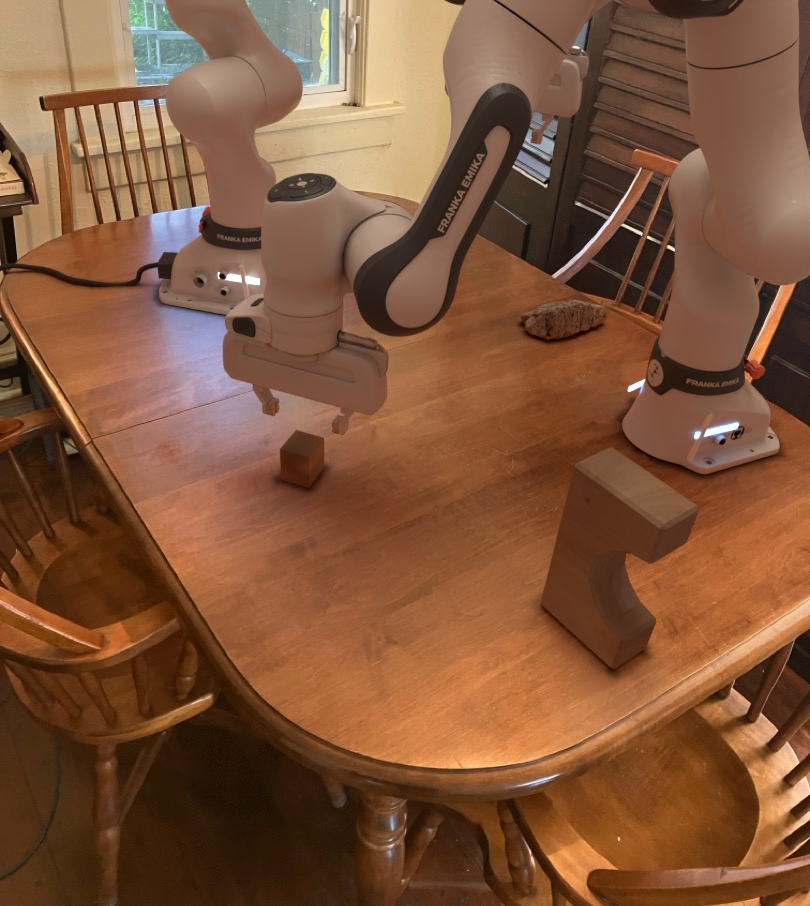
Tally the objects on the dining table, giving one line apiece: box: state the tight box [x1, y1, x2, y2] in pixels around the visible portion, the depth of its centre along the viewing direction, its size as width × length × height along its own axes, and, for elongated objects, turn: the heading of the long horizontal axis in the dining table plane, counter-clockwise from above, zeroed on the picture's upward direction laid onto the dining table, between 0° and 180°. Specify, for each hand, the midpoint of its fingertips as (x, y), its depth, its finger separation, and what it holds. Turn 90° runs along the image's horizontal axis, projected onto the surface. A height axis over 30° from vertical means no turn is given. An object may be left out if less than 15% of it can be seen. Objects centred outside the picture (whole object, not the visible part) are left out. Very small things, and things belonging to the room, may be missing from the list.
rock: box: [520, 299, 608, 341], centre depth 141 cm, size 15×10×6 cm
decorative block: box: [540, 446, 700, 669], centre depth 81 cm, size 11×6×20 cm, turn 35°
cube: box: [279, 429, 325, 489], centre depth 103 cm, size 4×5×5 cm
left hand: (505, 137), depth 123 cm, fingers open, 8 cm apart
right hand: (305, 422), depth 99 cm, fingers open, 8 cm apart
